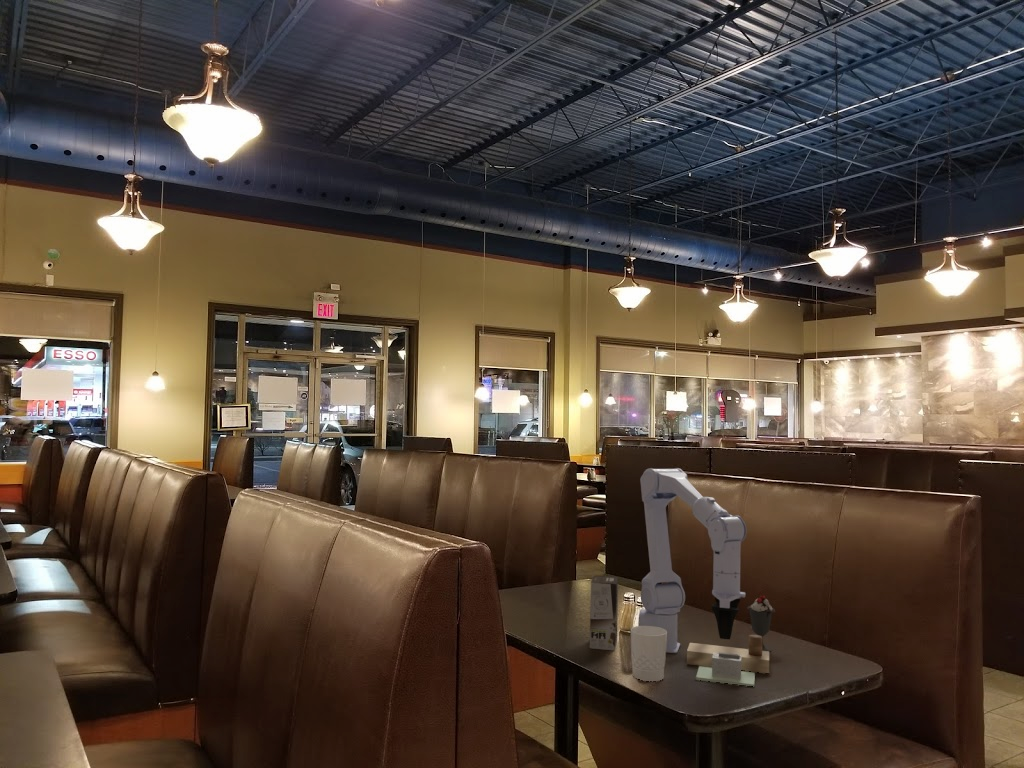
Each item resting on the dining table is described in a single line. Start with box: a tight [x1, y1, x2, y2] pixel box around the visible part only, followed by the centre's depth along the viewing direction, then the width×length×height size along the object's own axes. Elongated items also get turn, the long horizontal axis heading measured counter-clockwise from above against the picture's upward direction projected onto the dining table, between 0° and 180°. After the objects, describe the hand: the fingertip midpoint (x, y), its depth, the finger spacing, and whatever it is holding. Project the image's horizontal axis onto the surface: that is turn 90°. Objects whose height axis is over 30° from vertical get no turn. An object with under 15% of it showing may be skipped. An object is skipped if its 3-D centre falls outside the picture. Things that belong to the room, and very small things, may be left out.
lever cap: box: [711, 652, 742, 680], centre depth 166 cm, size 6×4×5 cm
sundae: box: [746, 589, 776, 653], centre depth 188 cm, size 7×7×15 cm
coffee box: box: [589, 575, 619, 651], centre depth 189 cm, size 9×6×16 cm
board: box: [695, 665, 756, 688], centre depth 166 cm, size 12×8×1 cm, turn 71°
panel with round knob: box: [686, 634, 770, 674], centre depth 176 cm, size 18×7×7 cm, turn 71°
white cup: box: [630, 625, 667, 683], centre depth 166 cm, size 8×8×10 cm
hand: (725, 634), depth 167 cm, fingers open, 7 cm apart
